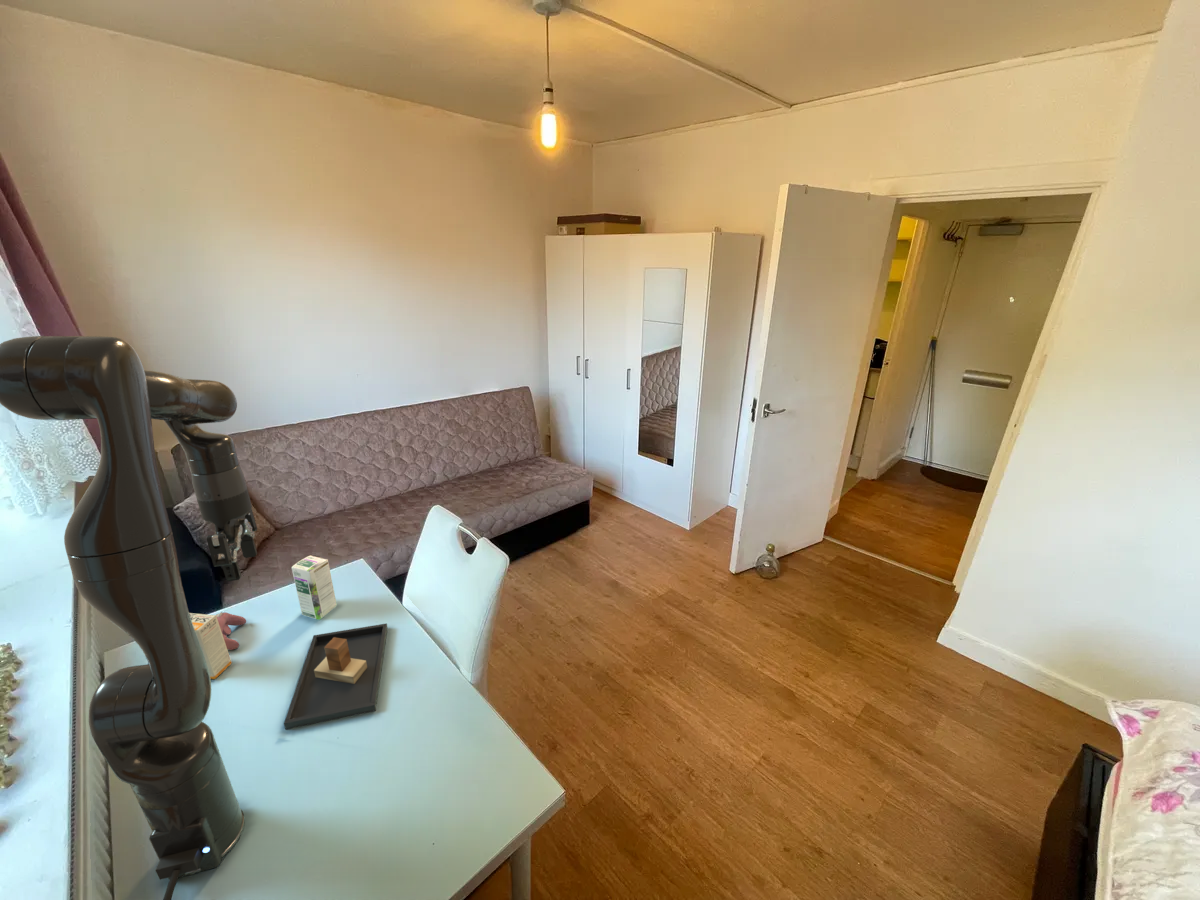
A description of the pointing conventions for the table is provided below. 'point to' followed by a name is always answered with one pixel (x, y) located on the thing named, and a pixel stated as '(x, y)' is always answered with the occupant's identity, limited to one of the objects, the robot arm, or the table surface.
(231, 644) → the video game controller
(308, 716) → the tray
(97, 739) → the robot arm
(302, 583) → the syrup box
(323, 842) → the table surface
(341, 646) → the stacked wooden blocks
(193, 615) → the supplement box
